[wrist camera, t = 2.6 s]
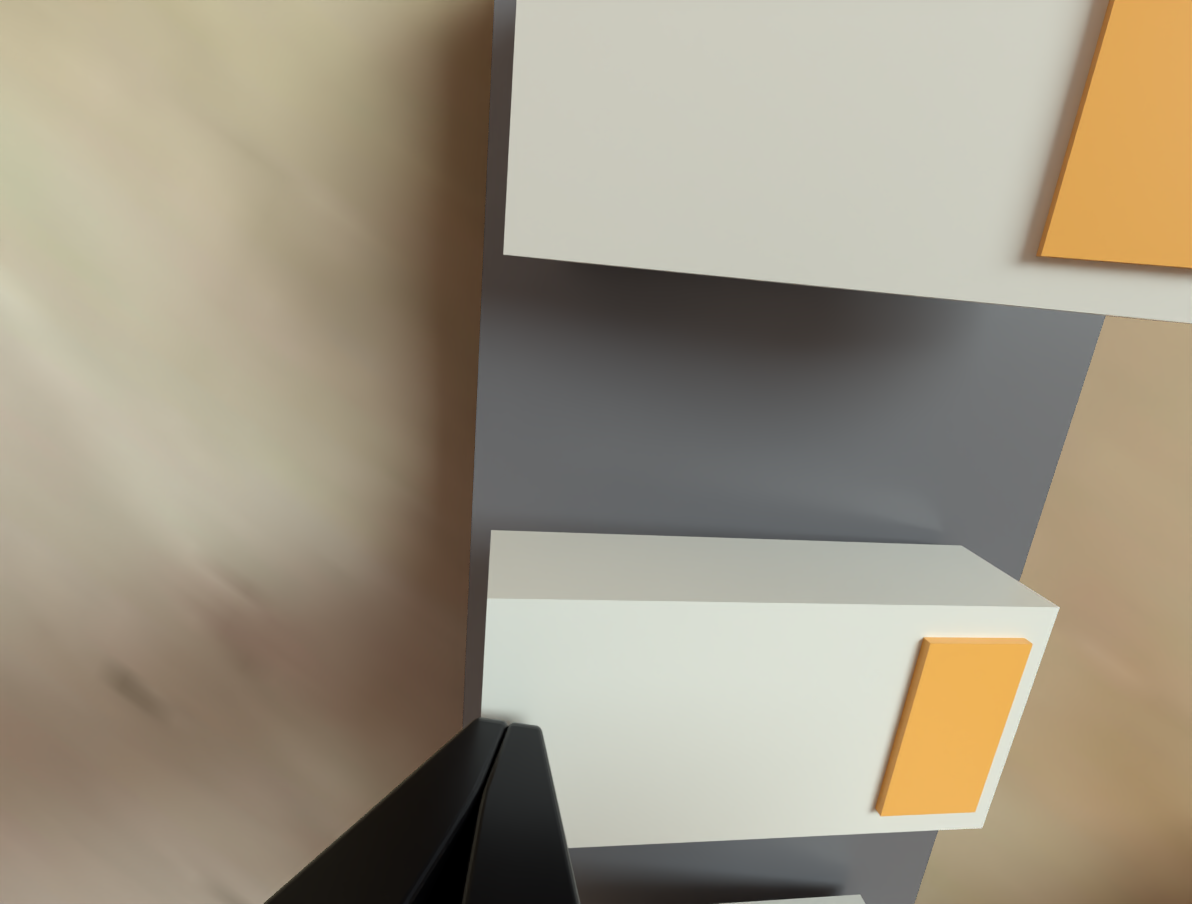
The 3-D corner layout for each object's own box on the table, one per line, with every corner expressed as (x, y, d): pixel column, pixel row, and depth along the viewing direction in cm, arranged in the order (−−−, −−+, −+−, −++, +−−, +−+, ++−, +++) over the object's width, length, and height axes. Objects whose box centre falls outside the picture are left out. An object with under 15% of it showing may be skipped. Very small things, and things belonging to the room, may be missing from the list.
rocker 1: (1281, -58, 7) (1484, -205, 5) (1150, 320, 8) (1267, 330, 6) (581, -31, 9) (516, -124, 7) (559, 260, 10) (498, 254, 8)
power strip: (1176, -441, 10) (1490, -871, 6) (816, 913, 19) (857, 1077, 15) (575, -461, 11) (531, -866, 7) (490, 861, 19) (450, 1007, 15)
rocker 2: (961, 545, 11) (1068, 613, 9) (906, 736, 12) (989, 836, 10) (491, 530, 9) (486, 605, 7) (479, 745, 11) (473, 862, 8)
